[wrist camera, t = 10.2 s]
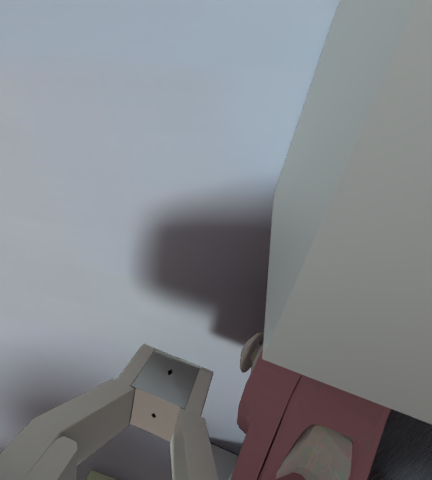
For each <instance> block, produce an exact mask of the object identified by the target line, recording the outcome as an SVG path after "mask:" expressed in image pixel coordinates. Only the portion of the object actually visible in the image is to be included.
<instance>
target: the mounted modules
mask: <svg viewBox="0 0 432 480" xmlns="http://www.w3.org/2000/svg"><path fill="white" fill-rule="evenodd" d="M262 359H263V360H266V361H269V362H271V363H274V364H276V365H279V366H281V367H284V368H287V369H289V370H292V371H294V372H297V373H300V374H302V375H305V376H307V377H310V378H313V379H315V380H318V381H320V382H323V383H325V384H328V385H331V386H333V387H336V388H338V389H341V390H344V391H346V392H349V393H351V394H354V395H357V396H359V397H362V398H364V399H367V400H369V401H372V402H375V403H377V404H380V405H382V406H385V407H388V408H390V409H393V410H395V411H398V412H401V413H403V414H406V415H408V416H411V417H413V418H416V419H419V420H421V421H424V422H426V423H429V424H432V0H340V2H339V5H338V7H337V10H336V12H335V15H334V18H333V21H332V24H331V27H330V30H329V33H328V36H327V39H326V41H325V44H324V47H323V50H322V53H321V56H320V59H319V62H318V65H317V68H316V71H315V74H314V77H313V80H312V83H311V86H310V89H309V92H308V95H307V98H306V101H305V104H304V107H303V110H302V113H301V116H300V119H299V121H298V124H297V127H296V130H295V133H294V136H293V139H292V142H291V145H290V148H289V151H288V154H287V157H286V160H285V163H284V166H283V169H282V172H281V175H280V178H279V181H278V184H277V187H276V190H275V193H274V197H273V211H272V225H271V240H270V254H269V268H268V283H267V297H266V311H265V326H264V340H263V354H262ZM210 444H211V443H210ZM211 448H212V453H213V457H214V461H215V466H216V470H217V474H218V479H219V480H229V478H230V476H231V474H232V472H233V470H234V468H235V465H236V462H237V459H238V455H235V454H233V453H231V452H229V451H226V450H224V449H222V448H220V447H218V446H215V445H213V444H211Z"/></svg>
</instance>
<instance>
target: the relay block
mask: <svg viewBox="0 0 432 480" xmlns="http://www.w3.org/2000/svg"><path fill="white" fill-rule="evenodd" d="M86 480H116V479H113V478H111V477H108V476H106V475H103V474H101V473H98V472H95V471H93V470H91V472H90V474H89V475H88V477H87V479H86Z"/></svg>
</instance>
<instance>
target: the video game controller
mask: <svg viewBox="0 0 432 480" xmlns="http://www.w3.org/2000/svg"><path fill="white" fill-rule="evenodd" d="M263 340H264V333H263V332H260V333H257V334H256V335H254V336H253V337H252V338H250V339H248V341H247V342H246V343H245V345H244V347H243V349H242V352H241V359H240V369H241V371H242V372H246V371H248V370H249V368H250V367H251V366H252V368H251V375H250V377H249V379H248V381H247V383H246V386H245V389H244V392H243V395H242V398H241V401H240V404H239V409H238V418H237V424H238V426H239V428H240V429H241V430H242V431H243V432H244V433H245V434H246V436H245V439H244V442H243V445H242V448H241V451H240V453H239V456H238V459H237V462H236V465H235V468H234V470H233V472H232V474H231V476H230V478H229V480H367V478H368V476H369V473H370V470H371V466H372V463H373V460H374V457H375V454H376V451H377V448H378V445H379V442H380V439H381V435H382V432H383V429H384V426H385V423H386V420H387V418H388V415H389V413H390V411H391V409H390V408H388V407H385V406H382V405H380V404H377V403H375V402H372V401H369V400H367V399H364V398H362V397H359V396H357V395H354V394H351V393H349V392H346V391H344V390H341V389H338V388H336V387H333V386H331V385H328V384H325V383H323V382H320V381H318V380H315V379H313V378H310V377H307V376H305V375H302V374H300V373H297V372H294V371H292V370H289V369H287V368H284V367H281V366H279V365H276V364H274V363H271V362H269V361H266V360H263V359H262V354H263Z"/></svg>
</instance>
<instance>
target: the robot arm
mask: <svg viewBox="0 0 432 480" xmlns="http://www.w3.org/2000/svg"><path fill="white" fill-rule="evenodd" d="M212 376H213V371H210V370H208V369H205V368H203V367H200V366H199V365H196V364H193V363H191V362H188V361H186V360H183V359H180V358H178V357H174V356H172V355H170V354H167V353H165V352H163V351H161V350H158V349H156V348H153V347H151V346H149V345H146V344H143V345H142V346H141V347H140V348H139V350H138V351H137V352H136V354H135V355H134V356H133V358H132V359H131V361H130V362H129V363H128V365H127V366H126V367H125V369H124V370H123V371H122V373H121V374H120V376H119V377H118V378H117V380H115V379H111V380H109V381H107V382H105V383H103V384H101V385H99V386H97V387H95V388H93V389H91V390H89V391H87V392H85V393H83V394H81V395H79V396H77V397H75V398H73V399H71V400H69V401H67V402H65V403H63V404H61V405H59V406H57V407H55V408H53V409H51V410H49V411H47V412H45V413H43V414H41V415H39V416H37V417H35V418H34V419H32V421H31V422H30V423H29V424H28V425H27V426H26V427H25V428H24V429H23V430H22V431H21V432H20V433H19V434H18V435H17V436H16V437H15V439H14V440H13V441H12V442H11V443H10V444H9V445H8V446H7V447H6V448H5V449H4V450H3V451H2V452H1V453H0V480H77V465H79V464H80V463H81V462H83V461H84V460H85V459H86V458H88V457H89V456H90V455H92V454H93V453H94V452H95V451H97V450H98V449H99V448H101V447H102V446H103V445H104V444H106V443H107V442H108V441H110V440H111V439H112V438H113V437H115V436H116V435H117V434H119V433H120V432H121V431H122V430H124V429H125V428H126V427H128V426H129V424H131V425H134V426H136V427H139V428H141V429H143V430H146V431H148V432H150V433H152V434H154V435H156V436H158V437H160V438H162V439H164V440H166V441H168V442H170V450H171V465H172V480H219V479H218V474H217V470H216V466H215V461H214V457H213V453H212V448H211V444H210V439H209V435H208V431H207V426H206V422H205V419H204V418H202V417H201V414H202V411H203V407H204V404H205V400H206V397H207V393H208V390H209V387H210V383H211V380H212Z"/></svg>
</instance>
